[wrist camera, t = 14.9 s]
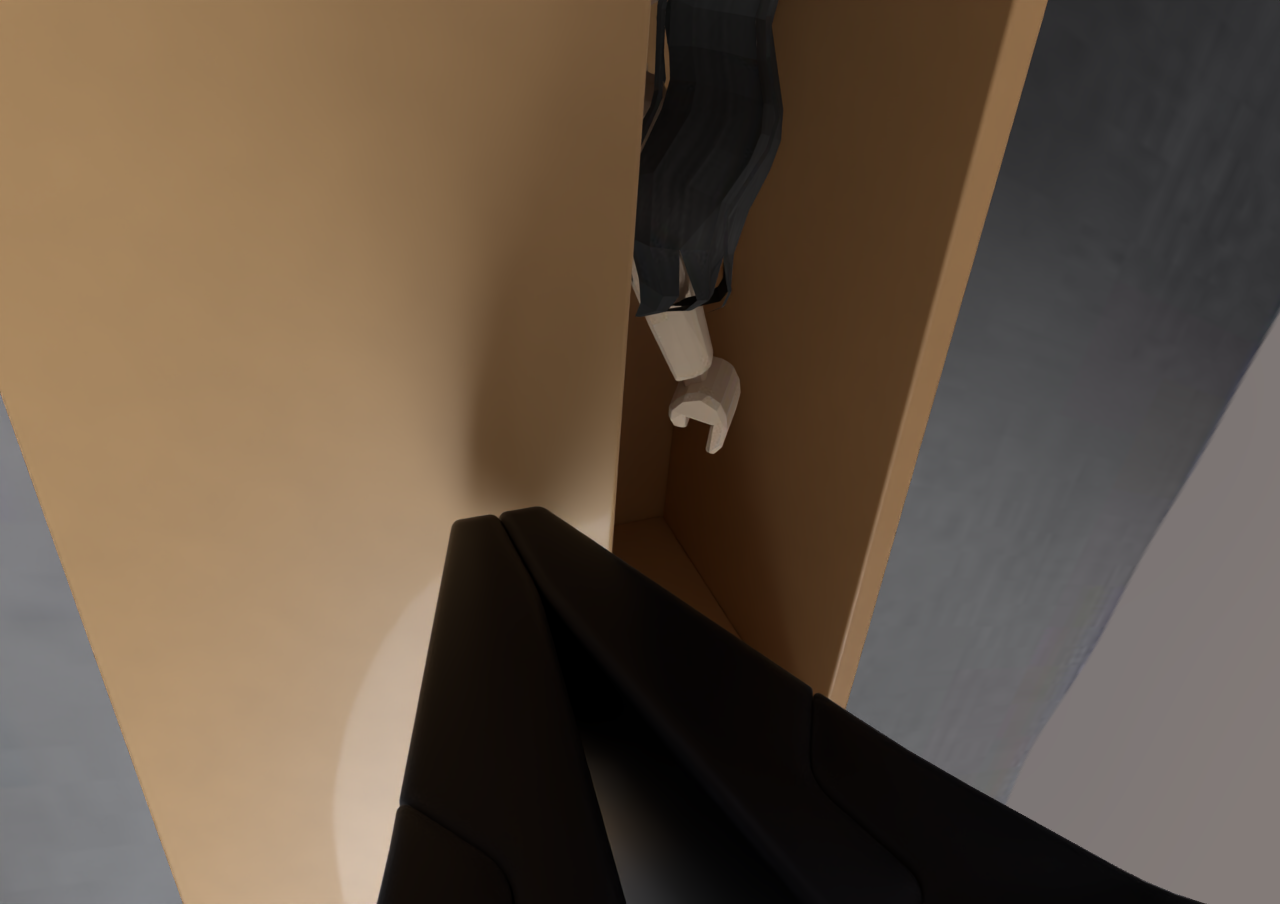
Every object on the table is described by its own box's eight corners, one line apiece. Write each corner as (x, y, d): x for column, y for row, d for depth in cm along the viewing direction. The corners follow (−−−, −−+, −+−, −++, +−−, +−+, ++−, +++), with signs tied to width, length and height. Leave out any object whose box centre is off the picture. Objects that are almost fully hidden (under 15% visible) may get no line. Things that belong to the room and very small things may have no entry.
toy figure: (713, 603, 19) (927, -347, 12) (588, 837, 13) (840, -646, 6) (407, 497, 21) (430, -382, 13) (190, 666, 15) (39, -637, 8)
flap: (581, 961, 14) (581, 988, 14) (223, 969, 14) (214, 997, 14) (716, -999, 4) (727, -1065, 4) (-511, -1200, 4) (-612, -1297, 4)
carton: (671, 515, 24) (832, 760, 18) (209, 601, 20) (213, 946, 14) (778, -426, 14) (1221, -595, 8) (-90, -597, 10) (-502, -1156, 4)
